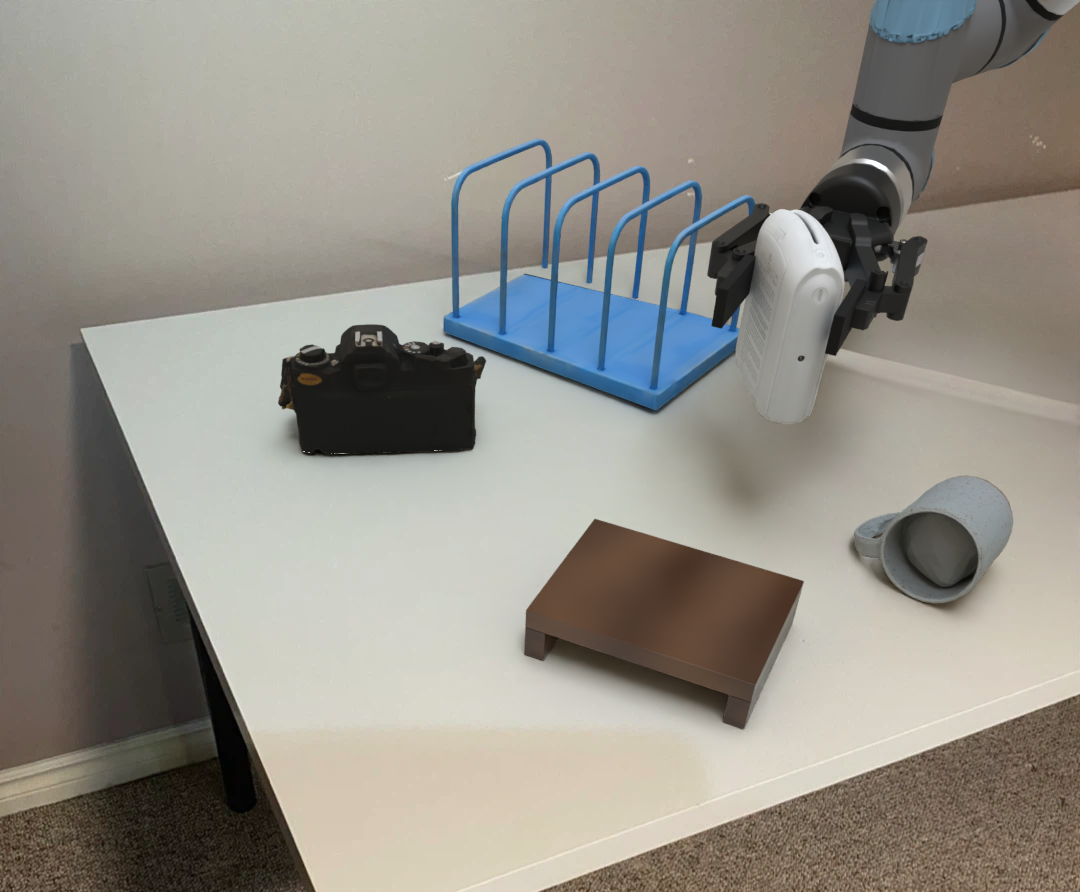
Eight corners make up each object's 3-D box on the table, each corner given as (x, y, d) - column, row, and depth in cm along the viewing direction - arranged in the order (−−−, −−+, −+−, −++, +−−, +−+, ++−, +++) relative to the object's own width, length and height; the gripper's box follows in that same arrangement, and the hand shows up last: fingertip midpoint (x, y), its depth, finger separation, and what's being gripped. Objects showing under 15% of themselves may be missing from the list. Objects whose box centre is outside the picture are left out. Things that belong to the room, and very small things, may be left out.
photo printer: (817, 425, 78) (862, 254, 69) (760, 426, 77) (798, 254, 68) (780, 356, 85) (816, 193, 76) (727, 356, 84) (758, 192, 75)
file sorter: (743, 348, 108) (773, 188, 98) (655, 416, 98) (677, 246, 87) (541, 279, 118) (547, 126, 107) (441, 335, 108) (437, 172, 97)
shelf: (792, 624, 78) (804, 580, 75) (743, 729, 70) (755, 685, 67) (590, 561, 82) (594, 518, 80) (523, 654, 75) (525, 609, 72)
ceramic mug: (1001, 568, 84) (1035, 483, 78) (961, 620, 79) (996, 533, 74) (875, 519, 88) (900, 435, 83) (831, 565, 83) (854, 480, 78)
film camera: (447, 379, 101) (445, 274, 94) (500, 444, 94) (502, 335, 87) (261, 414, 95) (244, 304, 88) (302, 486, 88) (286, 373, 81)
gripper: (965, 284, 87) (910, 409, 72) (728, 233, 93) (631, 340, 78) (997, 187, 82) (944, 300, 67) (743, 138, 87) (642, 234, 72)
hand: (776, 321), depth 72 cm, fingers closed on photo printer, 7 cm apart
